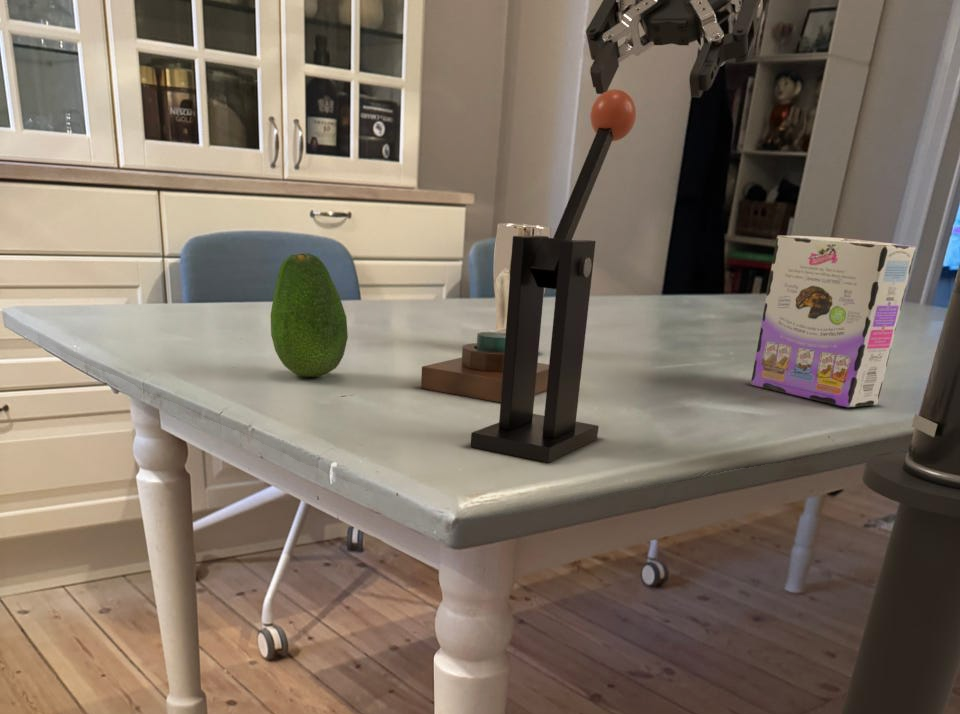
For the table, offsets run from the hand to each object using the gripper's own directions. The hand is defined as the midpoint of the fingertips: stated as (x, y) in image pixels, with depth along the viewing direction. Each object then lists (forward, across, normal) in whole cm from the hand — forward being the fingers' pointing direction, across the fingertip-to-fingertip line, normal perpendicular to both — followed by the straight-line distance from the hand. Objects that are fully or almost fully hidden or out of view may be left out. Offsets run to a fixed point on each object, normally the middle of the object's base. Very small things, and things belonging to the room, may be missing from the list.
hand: (645, 86), depth 78 cm
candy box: (0, +15, +39) cm, 41 cm away
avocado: (+25, -30, +14) cm, 41 cm away
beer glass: (+2, -23, +38) cm, 44 cm away
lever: (+13, 0, 0) cm, 13 cm away
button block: (+18, -14, +21) cm, 31 cm away
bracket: (+30, 0, +8) cm, 32 cm away
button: (+15, -14, +19) cm, 28 cm away
